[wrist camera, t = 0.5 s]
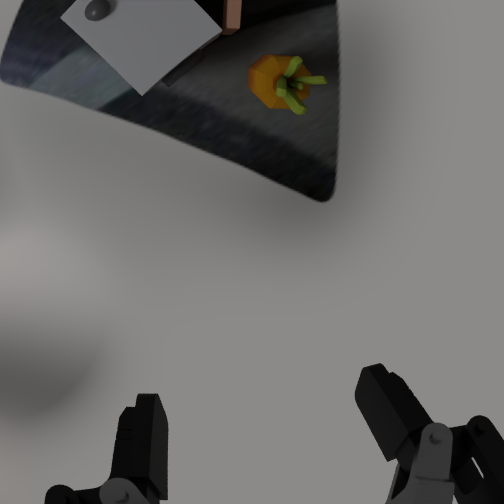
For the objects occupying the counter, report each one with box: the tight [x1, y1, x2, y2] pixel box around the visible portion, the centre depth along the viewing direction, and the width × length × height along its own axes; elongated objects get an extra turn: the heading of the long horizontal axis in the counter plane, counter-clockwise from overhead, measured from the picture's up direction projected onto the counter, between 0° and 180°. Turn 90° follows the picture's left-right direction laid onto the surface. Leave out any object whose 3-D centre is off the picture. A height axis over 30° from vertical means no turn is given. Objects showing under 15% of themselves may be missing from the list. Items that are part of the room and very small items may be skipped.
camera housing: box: [61, 0, 223, 95], centre depth 19 cm, size 12×8×11 cm, turn 36°
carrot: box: [248, 55, 327, 115], centre depth 22 cm, size 5×5×15 cm
